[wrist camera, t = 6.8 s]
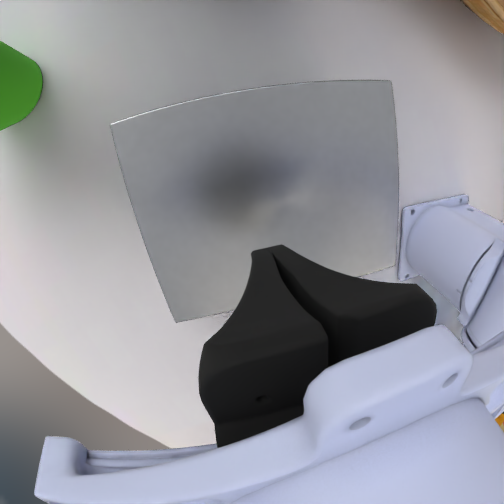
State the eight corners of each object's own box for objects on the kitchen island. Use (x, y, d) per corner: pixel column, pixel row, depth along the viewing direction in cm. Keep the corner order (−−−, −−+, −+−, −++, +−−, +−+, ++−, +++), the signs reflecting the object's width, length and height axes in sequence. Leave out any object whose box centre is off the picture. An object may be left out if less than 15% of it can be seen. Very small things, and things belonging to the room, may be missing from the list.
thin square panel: (384, 81, 13) (391, 80, 12) (390, 261, 18) (395, 265, 18) (113, 123, 12) (109, 124, 11) (175, 316, 17) (175, 323, 17)
